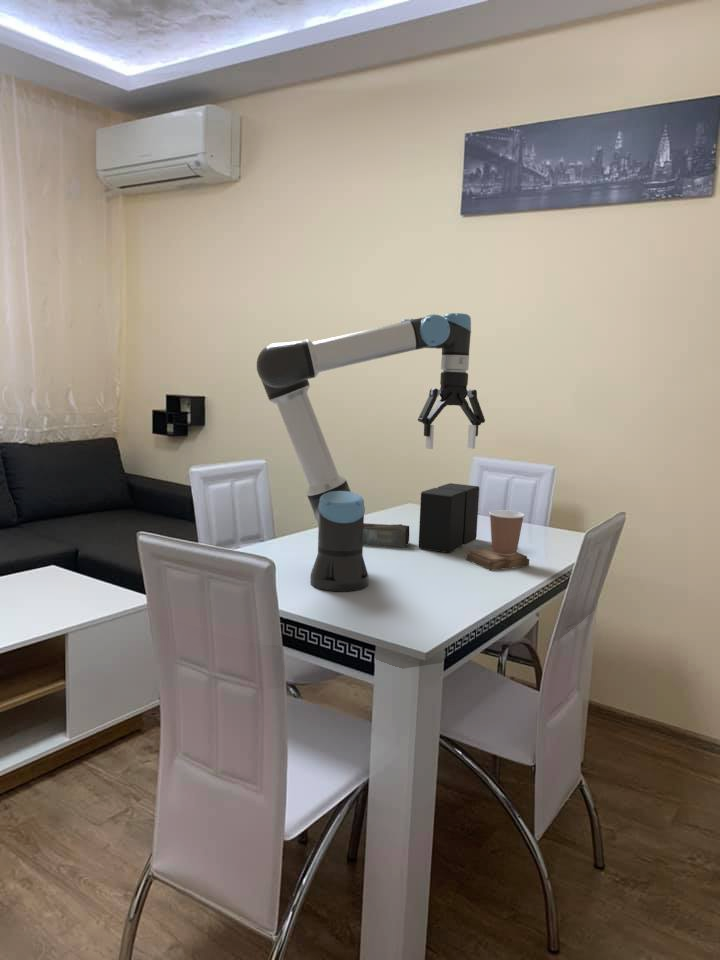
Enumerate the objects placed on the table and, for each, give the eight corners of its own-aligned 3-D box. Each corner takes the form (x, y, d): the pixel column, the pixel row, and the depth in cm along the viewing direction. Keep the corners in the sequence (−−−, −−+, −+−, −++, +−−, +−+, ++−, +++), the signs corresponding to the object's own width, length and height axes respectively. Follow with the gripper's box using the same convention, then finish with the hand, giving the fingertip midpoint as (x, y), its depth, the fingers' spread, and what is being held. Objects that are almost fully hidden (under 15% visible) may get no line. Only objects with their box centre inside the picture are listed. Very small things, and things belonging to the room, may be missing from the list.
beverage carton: (352, 539, 233) (353, 519, 232) (409, 543, 230) (410, 524, 229) (348, 544, 226) (348, 524, 225) (407, 549, 222) (408, 528, 221)
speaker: (447, 535, 244) (449, 482, 241) (476, 539, 239) (479, 486, 236) (417, 549, 222) (420, 491, 219) (448, 554, 217) (451, 495, 214)
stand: (489, 570, 200) (489, 560, 199) (466, 559, 210) (466, 550, 210) (528, 566, 205) (529, 556, 205) (504, 556, 216) (505, 547, 216)
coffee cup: (528, 553, 209) (531, 513, 207) (510, 559, 201) (513, 518, 199) (498, 546, 216) (500, 508, 214) (480, 552, 208) (482, 512, 206)
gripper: (421, 369, 183) (417, 450, 186) (500, 373, 193) (495, 449, 196) (408, 369, 190) (404, 447, 193) (485, 372, 200) (480, 446, 203)
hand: (450, 448), depth 194 cm, fingers open, 13 cm apart
